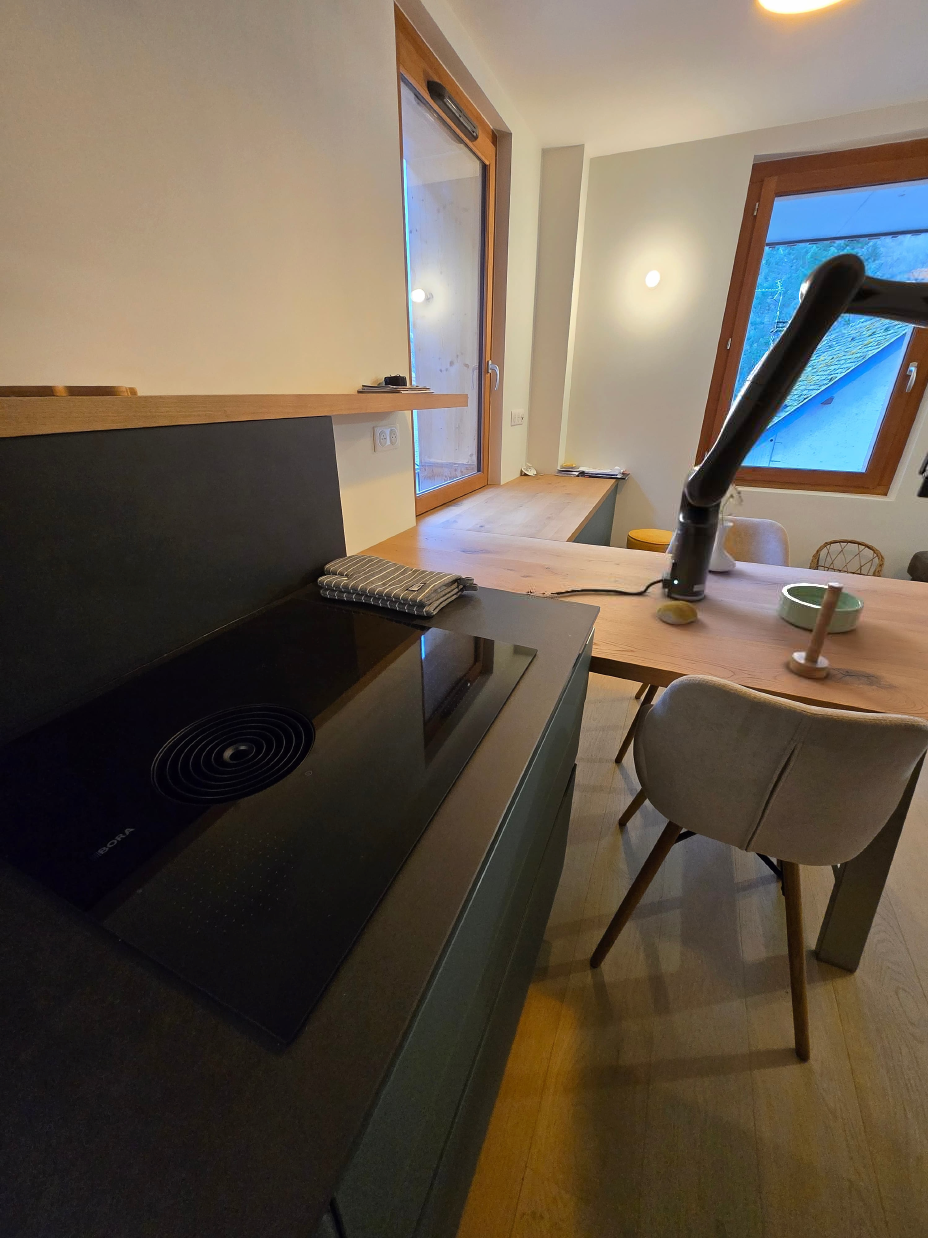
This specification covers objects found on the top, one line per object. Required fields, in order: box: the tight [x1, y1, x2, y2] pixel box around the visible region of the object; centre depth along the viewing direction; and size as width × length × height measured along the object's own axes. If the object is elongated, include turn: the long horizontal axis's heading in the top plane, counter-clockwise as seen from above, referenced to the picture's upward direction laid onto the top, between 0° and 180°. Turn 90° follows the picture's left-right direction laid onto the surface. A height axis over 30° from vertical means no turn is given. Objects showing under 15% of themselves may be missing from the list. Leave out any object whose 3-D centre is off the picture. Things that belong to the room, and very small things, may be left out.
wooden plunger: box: [789, 582, 844, 679], centre depth 92 cm, size 6×6×18 cm
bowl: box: [776, 583, 865, 634], centre depth 115 cm, size 16×16×6 cm
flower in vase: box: [709, 483, 744, 572], centre depth 144 cm, size 13×11×25 cm
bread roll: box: [655, 600, 698, 626], centre depth 117 cm, size 8×9×4 cm
